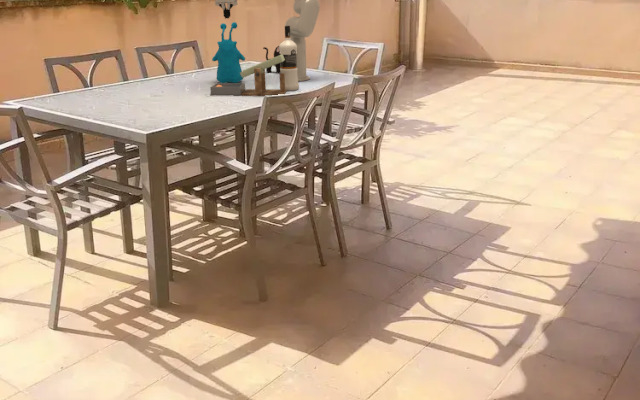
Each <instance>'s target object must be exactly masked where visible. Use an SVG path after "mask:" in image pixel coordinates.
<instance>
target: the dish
mask: <svg viewBox="0 0 640 400" xmlns="http://www.w3.org/2000/svg"><path fill="white" fill-rule="evenodd" d="M217 85H221V86H222V87H216V86H217ZM245 90H246V83H245V82H241V83H240V82H237V83H232V82H226V83H220V82H218V83H217V82H216V83H214V84H212V85H211V86H210V96H211V95H233V96H234V97H237V96H238V97H239V96H241V94H242V93H243V92H244V91H245ZM241 97H242V96H241Z"/></svg>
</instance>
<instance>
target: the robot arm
mask: <svg viewBox="0 0 640 400" xmlns="http://www.w3.org/2000/svg"><path fill="white" fill-rule="evenodd" d="M214 1H215V3H214V5H215V6H217V7H220V8H221V9H222V10H223V11H222V13H223V17H224V19H225V20H226V19H230V17H231V9H233V7H234V6H237V5H238V4H239V3H238V0H214ZM226 4H227V6H226ZM320 7H321V6H320V2H319V0H294V1H293V5H292V8H293V10H294V12H295V14H297V15H299V16H291V17H289V18H288V19H287V20H286V21H285V24H284V27H285V26H290V38H291V41H293V42H294V43H295V44H296V45H297V76H298V82H303V81H309V80H310V79H311V78H310V76H309V75H307V45H306V39H305V38H308V37H310V36H311V35H312V33H313V32H314V30H315V26H316V24H317V20H318V17H319V12H320Z"/></svg>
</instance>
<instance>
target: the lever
mask: <svg viewBox="0 0 640 400" xmlns="http://www.w3.org/2000/svg"><path fill="white" fill-rule="evenodd" d="M268 59H269V60H265V61H263V62H259V63H258V64H256V65H252V66H251V67H248V68H246V69H243V70H242V72H240V74H241V77H242V78H243V79H245V78H246V77H249V76H251V75H254V68H261V74H262V73H264V71H263V70H264V69H265V70H266V68H268V67H271V66H272V67H274V66H273V65H276V64H278V63H281V62H283V61H284V60H285V58H284V56H283V54H281V55H279V56H277V57H274V56H273V57H272V58H268Z"/></svg>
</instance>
